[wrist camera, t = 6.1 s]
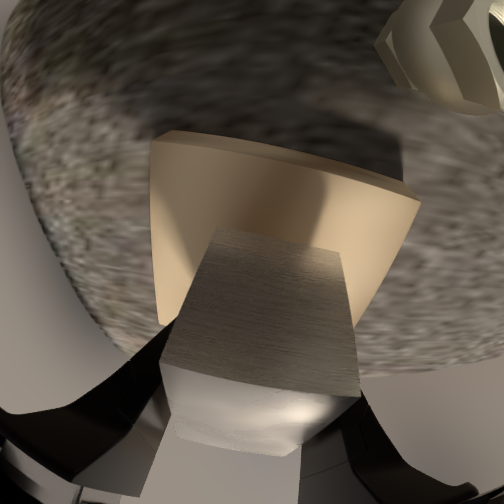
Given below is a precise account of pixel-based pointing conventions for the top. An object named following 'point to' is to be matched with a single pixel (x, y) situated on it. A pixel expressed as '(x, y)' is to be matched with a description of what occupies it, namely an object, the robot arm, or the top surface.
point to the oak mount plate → (269, 210)
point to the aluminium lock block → (261, 346)
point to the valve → (448, 52)
